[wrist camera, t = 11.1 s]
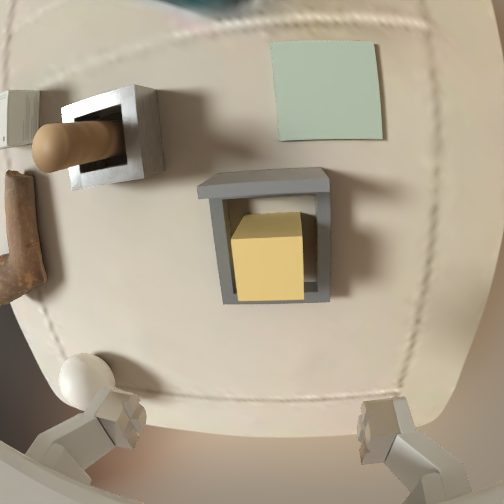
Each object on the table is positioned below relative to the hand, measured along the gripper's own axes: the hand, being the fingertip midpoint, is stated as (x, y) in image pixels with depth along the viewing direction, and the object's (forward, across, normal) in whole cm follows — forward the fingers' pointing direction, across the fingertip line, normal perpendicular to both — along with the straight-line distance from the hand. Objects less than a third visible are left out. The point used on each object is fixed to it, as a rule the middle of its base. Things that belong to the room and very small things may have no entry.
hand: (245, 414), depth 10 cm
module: (+18, 0, 0) cm, 18 cm away
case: (+17, 0, 0) cm, 17 cm away
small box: (+18, +25, -15) cm, 34 cm away
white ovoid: (+18, +23, +17) cm, 34 cm away
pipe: (+18, +29, -2) cm, 34 cm away
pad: (+17, -5, -12) cm, 22 cm away
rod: (+17, +12, -10) cm, 24 cm away
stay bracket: (+17, +12, -10) cm, 23 cm away
